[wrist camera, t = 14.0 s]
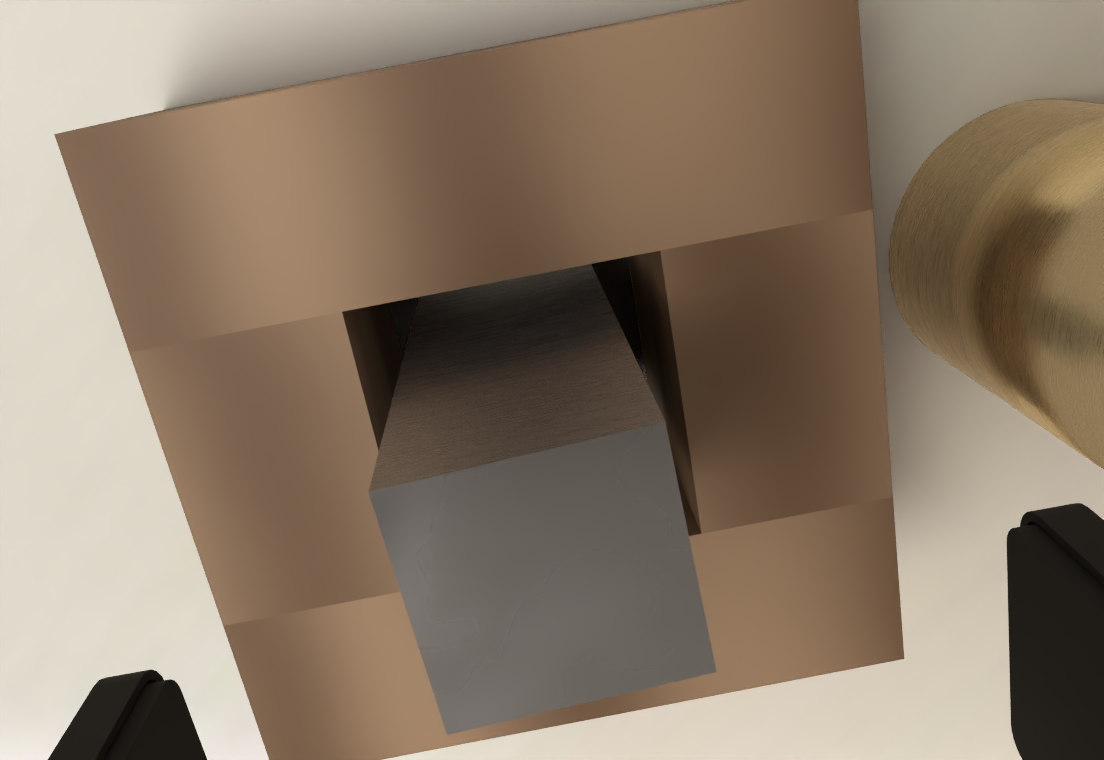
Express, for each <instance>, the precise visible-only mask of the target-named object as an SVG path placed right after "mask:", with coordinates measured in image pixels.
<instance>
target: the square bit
mask: <svg viewBox="0 0 1104 760" xmlns="http://www.w3.org/2000/svg"><path fill="white" fill-rule="evenodd" d="M368 493H369V496H370V499H371V502H372V505H373V508H374V512H375V515H376V518H377V521H378V524H379V527H380V530H381V533H382V536H383V539H384V542H385V545H386V548H387V552H388V555H389V558H390V561H391V564H392V567H393V570H394V573H395V576H396V579H397V582H398V585H399V588H400V591H401V595H402V598H403V601H404V604H405V607H406V610H407V613H408V616H409V619H410V622H411V625H412V628H413V631H414V634H415V638H416V641H417V644H418V647H419V650H420V653H421V656H422V659H423V662H424V665H425V668H426V671H427V674H428V678H429V681H430V684H431V687H432V690H433V693H434V696H435V699H436V702H437V705H438V708H439V711H440V714H441V717H442V721H443V724H444V727H445V730H446V733H447V735H450V734H454V733H458V732H462V731H467V730H471V729H475V728H480V727H484V726H488V725H492V724H497V723H501V722H505V721H510V720H514V719H518V718H522V717H527V716H531V715H535V714H540V713H544V712H548V711H552V710H557V709H561V708H565V707H569V706H574V705H578V704H582V703H587V702H591V701H595V700H599V699H604V698H608V697H612V696H617V695H621V694H625V693H629V692H634V691H638V690H642V689H647V688H651V687H655V686H659V685H664V684H668V683H672V682H677V681H681V680H685V679H689V678H694V677H698V676H702V675H707V674H711V673H715V672H717V671H716V666H715V661H714V656H713V651H712V647H711V642H710V637H709V632H708V627H707V622H706V617H705V613H704V608H703V603H702V598H701V593H700V588H699V583H698V578H697V574H696V569H695V564H694V559H693V554H692V549H691V544H690V539H689V535H688V530H687V525H686V520H685V515H684V510H683V505H682V500H681V496H680V491H679V486H678V481H677V476H676V471H675V466H674V461H673V457H672V452H671V447H670V442H669V437H668V432H667V427H666V422H665V420H664V418H663V416H662V414H661V411H660V409H659V407H658V405H657V403H656V401H655V399H654V397H653V394H652V392H651V390H650V388H649V386H648V384H647V382H646V380H645V377H644V375H643V373H642V371H641V369H640V367H639V365H638V363H637V360H636V358H635V356H634V354H633V352H632V350H631V348H630V346H629V343H628V341H627V339H626V337H625V335H624V333H623V331H622V329H621V326H620V324H619V322H618V320H617V318H616V316H615V314H614V312H613V309H612V307H611V305H610V303H609V301H608V299H607V297H606V295H605V292H604V290H603V288H602V286H601V284H600V282H599V280H598V278H597V275H596V273H595V271H594V269H593V267H592V265H591V264H588V265H582V266H577V267H572V268H567V269H562V270H556V271H551V272H546V273H541V274H536V275H530V276H525V277H520V278H515V279H510V280H504V281H499V282H494V283H489V284H484V285H478V286H473V287H468V288H463V289H458V290H452V291H447V292H442V293H437V294H432V295H426V296H421V297H419V299H418V302H417V306H416V310H415V314H414V318H413V322H412V326H411V329H410V333H409V337H408V341H407V345H406V349H405V353H404V356H403V360H402V364H401V368H400V372H399V376H398V380H397V383H396V387H395V391H394V395H393V399H392V403H391V407H390V410H389V414H388V418H387V422H386V426H385V430H384V433H383V437H382V441H381V445H380V449H379V453H378V457H377V460H376V464H375V468H374V472H373V476H372V480H371V484H370V487H369V491H368Z"/></svg>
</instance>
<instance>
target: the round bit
mask: <svg viewBox="0 0 1104 760" xmlns="http://www.w3.org/2000/svg"><path fill="white" fill-rule="evenodd" d="M889 272H890V278H891V285H892V290H893V293H894V296H895V300H896V303H897V305H898V307H899V310H900V312H901V314H902V316H903V318H904V320H905V321H906V323H907V324H908V326H909V327H910V329H911V330H912V332H913V333H914V334H915V335H916V336H917V337H918V339H919V340H920V341H921V342H922V343H923V344H924V345H925V346H927V347H928V348H929V349H930V350H932V351H933V352H934V353H935V354H937V355H938V356H940V357H941V358H943V359H944V360H945V361H947V362H948V363H950V364H951V365H953V366H954V367H956V368H957V369H959V370H960V371H961V372H963V373H964V374H966V375H967V376H969V377H970V378H972V379H973V380H975V381H976V382H977V383H979V384H980V385H982V386H983V387H985V388H986V389H988V390H989V391H991V392H992V393H993V394H995V395H996V396H998V397H999V398H1001V399H1002V400H1004V401H1005V402H1007V403H1008V404H1009V405H1011V406H1012V407H1014V408H1015V409H1017V410H1018V411H1020V412H1021V413H1023V414H1024V415H1025V416H1027V417H1028V418H1030V419H1031V420H1033V421H1034V422H1036V423H1037V424H1039V425H1040V426H1042V427H1043V428H1044V429H1046V430H1047V431H1049V432H1050V433H1052V434H1053V435H1055V436H1056V437H1058V438H1059V439H1060V440H1062V441H1063V442H1065V443H1066V444H1068V445H1069V446H1071V447H1072V448H1074V449H1075V450H1076V451H1078V452H1079V453H1081V454H1082V455H1084V456H1085V457H1087V458H1088V459H1090V460H1091V461H1092V462H1094V463H1095V464H1097V465H1098V466H1100V467H1101V468H1103V469H1104V104H1101V103H1091V102H1080V101H1070V100H1060V99H1037V100H1029V101H1022V102H1017V103H1014V104H1010V105H1006V106H1003V107H1000V108H998V109H995V110H993V111H990V112H988V113H986V114H983V115H982V116H980V117H978V118H976V119H974V120H973V121H971V122H969V123H967V124H966V125H964V126H963V127H962V128H960V129H959V130H958V131H956V132H955V133H953V134H952V135H951V136H950V137H948V138H947V139H946V140H945V141H944V142H943V143H942V144H941V145H940V146H939V147H938V148H937V149H936V150H935V151H934V152H933V153H932V154H931V155H930V157H929V158H928V159H927V160H926V161H925V162H924V164H923V165H922V166H921V168H920V169H919V171H918V172H917V174H916V175H915V177H914V178H913V180H912V181H911V183H910V185H909V187H908V189H907V191H906V193H905V194H904V196H903V198H902V201H901V204H900V206H899V209H898V211H897V214H896V217H895V221H894V225H893V229H892V233H891V240H890V249H889Z"/></svg>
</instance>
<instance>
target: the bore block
mask: <svg viewBox="0 0 1104 760" xmlns="http://www.w3.org/2000/svg"><path fill="white" fill-rule="evenodd" d="M55 137H56V140H57V143H58V146H59V149H60V152H61V155H62V158H63V160H64V163H65V166H66V169H67V172H68V175H69V178H70V181H71V184H72V187H73V190H74V193H75V195H76V198H77V201H78V204H79V207H80V210H81V213H82V216H83V219H84V222H85V225H86V227H87V230H88V233H89V236H90V239H91V242H92V245H93V248H94V251H95V254H96V257H97V259H98V262H99V265H100V268H101V271H102V274H103V277H104V280H105V283H106V286H107V289H108V291H109V294H110V297H111V300H112V303H113V306H114V309H115V312H116V315H117V318H118V321H119V323H120V326H121V329H122V332H123V335H124V338H125V341H126V344H127V347H128V350H129V353H130V355H131V358H132V361H133V364H134V367H135V370H136V373H137V376H138V379H139V382H140V385H141V388H142V390H143V393H144V396H145V399H146V402H147V405H148V408H149V411H150V414H151V417H152V420H153V422H154V425H155V428H156V431H157V434H158V437H159V440H160V443H161V446H162V449H163V452H164V454H165V457H166V460H167V463H168V466H169V469H170V472H171V475H172V478H173V481H174V484H175V486H176V489H177V492H178V495H179V498H180V501H181V504H182V507H183V510H184V513H185V516H186V518H187V521H188V524H189V527H190V530H191V533H192V536H193V539H194V542H195V545H196V548H197V550H198V553H199V556H200V559H201V562H202V565H203V568H204V571H205V574H206V577H207V580H208V583H209V585H210V588H211V591H212V594H213V597H214V600H215V603H216V606H217V609H218V612H219V615H220V617H221V620H222V623H223V626H224V629H225V632H226V635H227V638H228V641H229V644H230V647H231V649H232V652H233V655H234V658H235V661H236V664H237V667H238V670H239V673H240V676H241V679H242V681H243V684H244V687H245V690H246V693H247V696H248V699H249V702H250V705H251V708H252V711H253V713H254V716H255V719H256V722H257V725H258V728H259V731H260V734H261V737H262V740H263V743H264V745H265V748H266V751H267V754H268V757H269V760H382V759H387V758H392V757H397V756H403V755H408V754H413V753H418V752H423V751H428V750H434V749H439V748H444V747H449V746H454V745H460V744H465V743H470V742H475V741H480V740H485V739H491V738H496V737H501V736H506V735H511V734H517V733H522V732H527V731H532V730H537V729H542V728H548V727H553V726H558V725H563V724H568V723H574V722H579V721H584V720H589V719H594V718H600V717H605V716H610V715H615V714H620V713H625V712H631V711H636V710H641V709H646V708H651V707H657V706H662V705H667V704H672V703H677V702H682V701H688V700H693V699H698V698H703V697H708V696H714V695H719V694H724V693H729V692H734V691H740V690H745V689H750V688H755V687H760V686H765V685H771V684H776V683H781V682H786V681H791V680H797V679H802V678H807V677H812V676H817V675H822V674H828V673H833V672H838V671H843V670H848V669H854V668H859V667H864V666H869V665H874V664H879V663H885V662H890V661H895V660H900V659H904V650H903V636H902V621H901V607H900V593H899V579H898V564H897V550H896V536H895V522H894V508H893V493H892V479H891V465H890V451H889V436H888V422H887V408H886V394H885V379H884V365H883V351H882V337H881V322H880V308H879V294H878V280H877V265H876V251H875V237H874V223H873V208H872V194H871V180H870V166H869V151H868V137H867V123H866V109H865V94H864V80H863V66H862V52H861V37H860V23H859V9H858V0H735V1H730V2H725V3H719V4H714V5H709V6H704V7H698V8H693V9H688V10H683V11H678V12H672V13H667V14H662V15H657V16H652V17H646V18H641V19H636V20H631V21H626V22H620V23H615V24H610V25H605V26H600V27H594V28H589V29H584V30H579V31H574V32H568V33H563V34H558V35H553V36H548V37H542V38H537V39H532V40H527V41H522V42H516V43H511V44H506V45H501V46H496V47H490V48H485V49H480V50H475V51H469V52H464V53H459V54H454V55H449V56H443V57H438V58H433V59H428V60H423V61H417V62H412V63H407V64H402V65H397V66H391V67H386V68H381V69H376V70H371V71H365V72H360V73H355V74H350V75H345V76H339V77H334V78H329V79H324V80H319V81H313V82H308V83H303V84H298V85H293V86H287V87H282V88H277V89H272V90H266V91H261V92H256V93H251V94H246V95H240V96H235V97H230V98H225V99H220V100H214V101H209V102H204V103H199V104H194V105H188V106H183V107H178V108H173V109H168V110H162V111H158V112H153V113H149V114H144V115H140V116H135V117H131V118H126V119H122V120H117V121H113V122H108V123H104V124H99V125H95V126H90V127H85V128H81V129H76V130H72V131H67V132H63V133H58V134H55ZM624 257H628V262H629V268H630V274H631V281H632V287H633V293H634V300H635V306H636V313H637V319H638V325H639V332H640V338H641V344H642V351H643V357H644V363H645V370H646V376H647V383H648V386H649V388H650V390H651V392H652V394H653V397H654V399H655V401H656V403H657V405H658V407H659V409H660V411H661V414H662V416H663V418H664V420H665V422H666V427H667V432H668V437H669V442H670V447H671V452H672V457H673V461H674V466H675V471H676V476H677V481H678V486H679V491H680V496H681V500H682V505H683V510H684V515H685V520H686V525H687V530H688V535H689V539H690V544H691V549H692V554H693V559H694V564H695V569H696V574H697V578H698V583H699V588H700V593H701V598H702V603H703V608H704V613H705V617H706V622H707V627H708V632H709V637H710V642H711V647H712V651H713V656H714V661H715V666H716V671H717V672H715V673H711V674H707V675H702V676H698V677H694V678H689V679H685V680H681V681H677V682H672V683H668V684H664V685H659V686H655V687H651V688H647V689H642V690H638V691H634V692H629V693H625V694H621V695H617V696H612V697H608V698H604V699H599V700H595V701H591V702H587V703H582V704H578V705H574V706H569V707H565V708H561V709H557V710H552V711H548V712H544V713H540V714H535V715H531V716H527V717H522V718H518V719H514V720H510V721H505V722H501V723H497V724H492V725H488V726H484V727H480V728H475V729H471V730H467V731H462V732H458V733H454V734H450V735H447V733H446V730H445V727H444V724H443V721H442V717H441V714H440V711H439V708H438V705H437V702H436V699H435V696H434V693H433V690H432V687H431V684H430V681H429V678H428V674H427V671H426V668H425V665H424V662H423V659H422V656H421V653H420V650H419V647H418V644H417V641H416V638H415V634H414V631H413V628H412V625H411V622H410V619H409V616H408V613H407V610H406V607H405V604H404V601H403V598H402V595H401V591H400V588H399V585H398V582H397V579H396V576H395V573H394V570H393V567H392V564H391V561H390V558H389V555H388V552H387V548H386V545H385V542H384V539H383V536H382V533H381V530H380V527H379V524H378V521H377V518H376V515H375V512H374V508H373V505H372V502H371V499H370V496H369V493H368V491H369V487H370V484H371V480H372V476H373V472H374V468H375V464H376V460H377V457H378V453H379V449H380V445H381V441H382V437H383V433H384V430H385V426H386V422H387V418H388V414H389V410H390V407H391V403H392V399H393V395H394V391H395V387H396V383H397V380H398V376H399V372H400V368H401V364H402V360H403V355H402V351H401V347H400V343H399V339H398V335H397V331H396V327H395V323H394V319H393V314H392V310H391V306H390V302H395V301H400V300H406V299H411V298H416V297H421V296H426V295H432V294H437V293H442V292H447V291H452V290H458V289H463V288H468V287H473V286H478V285H484V284H489V283H494V282H499V281H504V280H510V279H515V278H520V277H525V276H530V275H536V274H541V273H546V272H551V271H556V270H562V269H567V268H572V267H577V266H582V265H588V264H593V263H598V262H603V261H608V260H614V259H619V258H624Z"/></svg>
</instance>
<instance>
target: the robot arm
mask: <svg viewBox="0 0 1104 760" xmlns="http://www.w3.org/2000/svg"><path fill="white" fill-rule="evenodd" d="M1007 570H1008V613H1009V656H1010V699H1011V727H1012V733H1013V738H1014V741H1015V744H1016V747H1017V749H1018V751H1019V754H1020V756H1021V757H1022V759H1023V760H1104V520H1103V519H1101V518H1100V517H1099V516H1098V515H1097V514H1095V513H1094V512H1093V511H1092V510H1091V509H1089V508H1088V507H1086V506H1085V505H1083V504H1080V503H1075V504H1069V505H1064V506H1058V507H1053V508H1047V509H1042V510H1036V511H1030V512H1027V513H1026V514H1024V515H1023V517H1022V520H1021V524H1020V527H1017V528H1012V529H1011V530H1010V531H1009V533H1008V535H1007ZM48 760H207V758H206V756H205V753H204V750H203V748H202V745H201V742H200V740H199V737H198V734H197V732H196V729H195V726H194V724H193V721H192V718H191V716H190V713H189V710H188V708H187V705H186V702H185V700H184V697H183V694H182V692H181V689H180V687H179V685H178V684H177V683H176V682H175V681H174V680H165V681H164V680H163V678H162V676H161V675H160V674H159V673H158V672H157V671H154V670H147V671H141V672H135V673H130V674H124V675H119V676H113V677H108V678H104V679H101V680H99V681H98V682H97V683H96V684H95V686H94V687H93V688H92V690H91V692H90V693H89V695H88V696H87V698H86V700H85V701H84V703H83V704H82V706H81V708H80V709H79V711H78V712H77V714H76V716H75V717H74V719H73V720H72V722H71V724H70V725H69V727H68V728H67V730H66V731H65V733H64V735H63V736H62V738H61V739H60V741H59V743H58V744H57V746H56V747H55V749H54V751H53V752H52V754H51V755H50V757H49V759H48Z"/></svg>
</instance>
